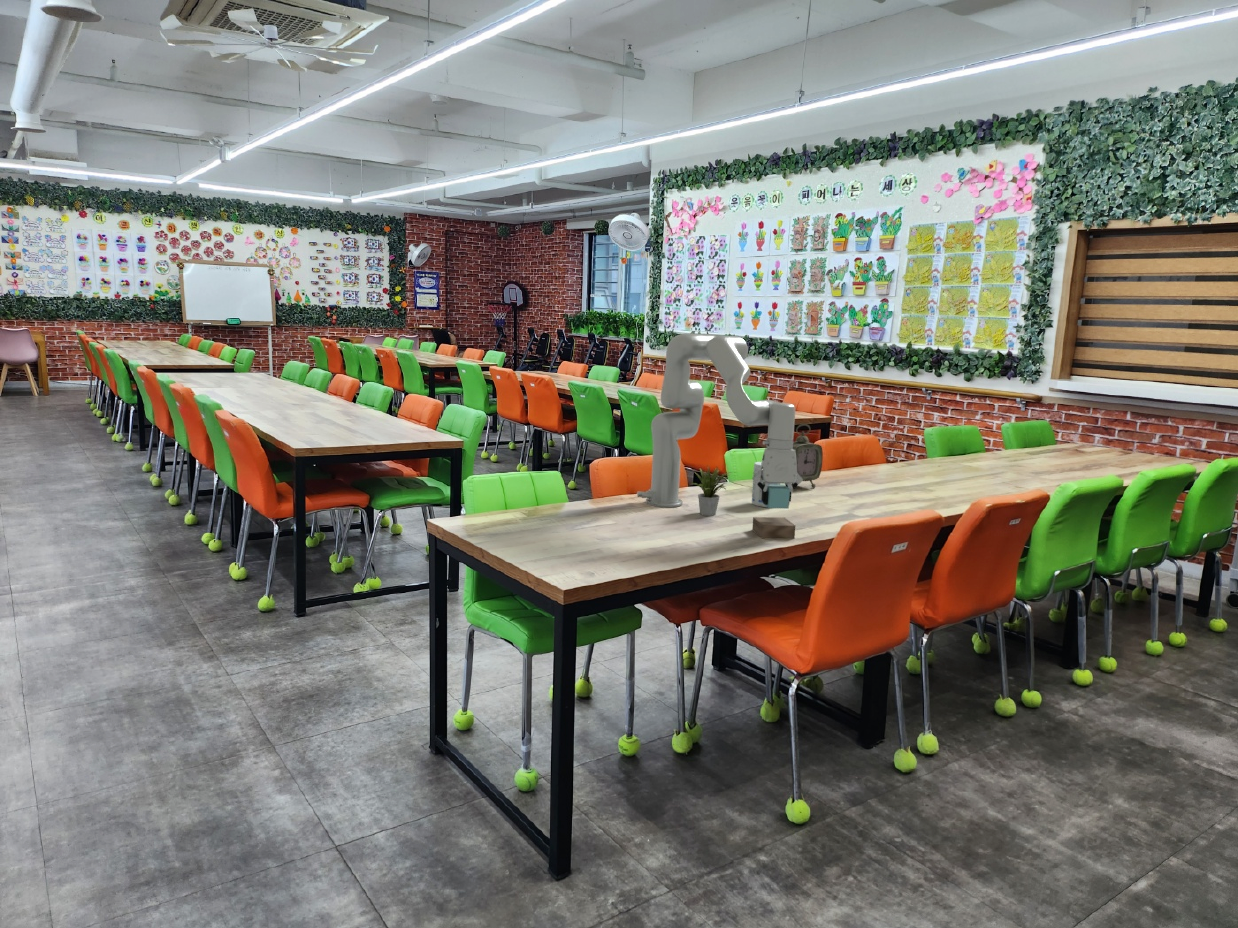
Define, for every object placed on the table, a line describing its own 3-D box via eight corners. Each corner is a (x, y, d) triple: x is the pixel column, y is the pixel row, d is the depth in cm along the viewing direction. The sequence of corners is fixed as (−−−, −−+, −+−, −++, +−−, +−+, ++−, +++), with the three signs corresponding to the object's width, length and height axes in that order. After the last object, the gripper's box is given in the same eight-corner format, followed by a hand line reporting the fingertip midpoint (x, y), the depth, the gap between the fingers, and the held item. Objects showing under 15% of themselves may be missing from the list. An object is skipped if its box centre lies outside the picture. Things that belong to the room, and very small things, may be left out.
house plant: (728, 521, 270) (732, 471, 267) (685, 517, 272) (688, 468, 269) (731, 512, 283) (735, 464, 281) (690, 508, 286) (693, 460, 283)
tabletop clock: (791, 491, 323) (796, 426, 318) (776, 486, 331) (780, 422, 326) (820, 488, 330) (825, 425, 325) (804, 484, 338) (809, 422, 333)
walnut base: (762, 538, 251) (762, 525, 250) (752, 529, 261) (753, 517, 260) (794, 538, 252) (795, 525, 252) (783, 530, 262) (784, 517, 261)
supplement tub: (784, 505, 297) (787, 464, 294) (768, 509, 290) (771, 467, 288) (762, 500, 303) (765, 460, 301) (745, 503, 297) (748, 462, 294)
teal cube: (769, 508, 251) (770, 488, 250) (763, 503, 257) (764, 484, 256) (788, 508, 252) (790, 488, 251) (782, 504, 258) (783, 484, 257)
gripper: (755, 446, 247) (751, 506, 250) (812, 447, 249) (807, 506, 252) (748, 442, 254) (744, 501, 257) (803, 443, 256) (799, 501, 259)
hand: (775, 503), depth 255 cm, fingers closed on teal cube, 6 cm apart
